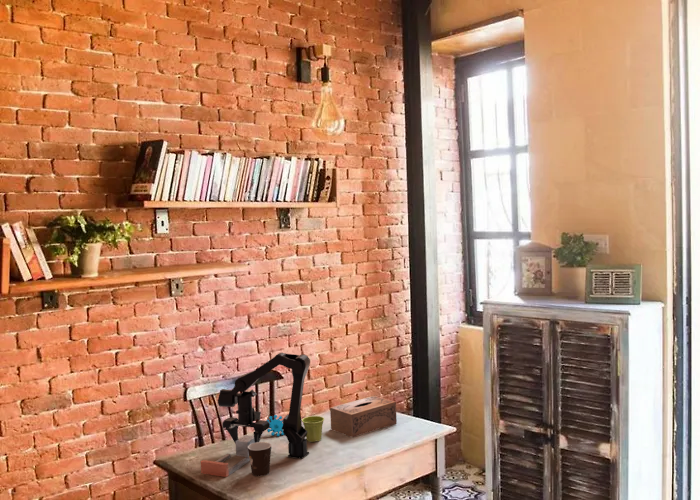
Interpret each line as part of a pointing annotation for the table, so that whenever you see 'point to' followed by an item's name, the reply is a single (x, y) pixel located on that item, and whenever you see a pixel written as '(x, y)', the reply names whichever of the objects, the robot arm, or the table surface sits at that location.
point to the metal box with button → (243, 445)
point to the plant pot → (313, 427)
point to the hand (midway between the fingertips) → (246, 445)
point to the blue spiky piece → (275, 425)
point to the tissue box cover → (363, 416)
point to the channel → (221, 466)
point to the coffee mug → (260, 458)
